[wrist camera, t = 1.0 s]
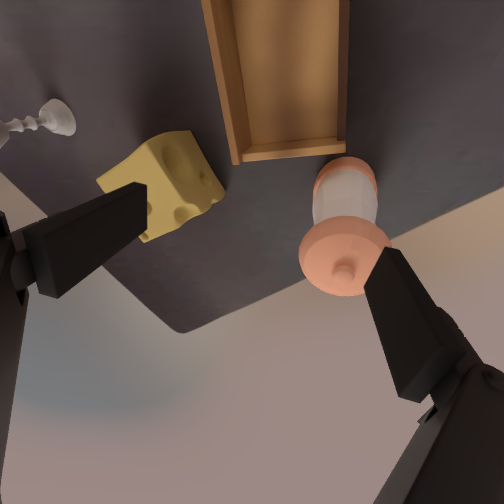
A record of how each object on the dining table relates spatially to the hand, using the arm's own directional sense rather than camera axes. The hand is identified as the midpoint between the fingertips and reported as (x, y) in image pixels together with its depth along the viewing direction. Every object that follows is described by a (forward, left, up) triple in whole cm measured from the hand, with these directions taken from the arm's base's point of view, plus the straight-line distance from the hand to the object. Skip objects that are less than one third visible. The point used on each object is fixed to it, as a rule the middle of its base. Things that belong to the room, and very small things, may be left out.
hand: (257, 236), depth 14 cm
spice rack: (+1, -9, -23) cm, 24 cm away
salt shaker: (-5, +6, -23) cm, 24 cm away
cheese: (+18, +3, -23) cm, 30 cm away
